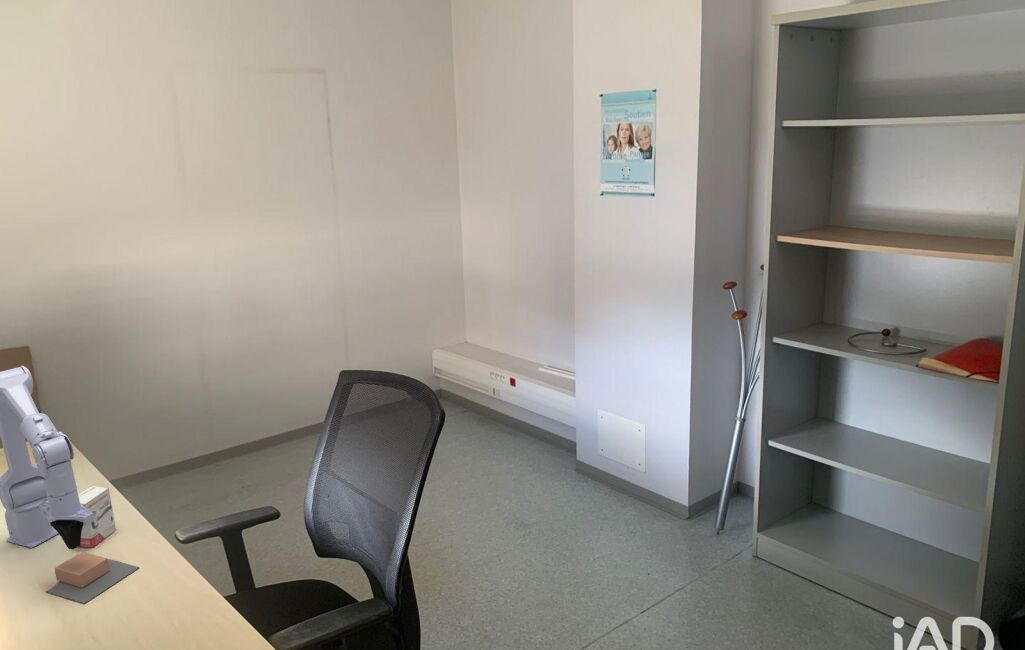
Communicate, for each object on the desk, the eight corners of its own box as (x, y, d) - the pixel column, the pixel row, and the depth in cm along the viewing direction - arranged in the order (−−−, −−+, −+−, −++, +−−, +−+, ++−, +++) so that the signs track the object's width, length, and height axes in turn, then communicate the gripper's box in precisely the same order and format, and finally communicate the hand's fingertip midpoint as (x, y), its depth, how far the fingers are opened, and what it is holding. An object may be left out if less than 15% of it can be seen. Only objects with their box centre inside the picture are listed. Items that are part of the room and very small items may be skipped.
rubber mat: (45, 592, 169) (45, 591, 169) (102, 558, 181) (101, 557, 181) (84, 604, 164) (84, 603, 164) (139, 568, 177) (139, 567, 176)
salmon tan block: (54, 568, 172) (79, 575, 169) (82, 551, 178) (107, 558, 175) (57, 581, 173) (82, 588, 169) (85, 564, 179) (110, 571, 176)
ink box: (93, 548, 186) (84, 503, 182) (75, 547, 187) (65, 502, 183) (118, 529, 194) (109, 485, 191) (100, 528, 195) (91, 484, 192)
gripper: (21, 494, 168) (35, 550, 172) (68, 505, 162) (81, 563, 166) (52, 479, 174) (64, 534, 178) (97, 489, 168) (109, 545, 172)
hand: (74, 547), depth 172 cm, fingers closed
